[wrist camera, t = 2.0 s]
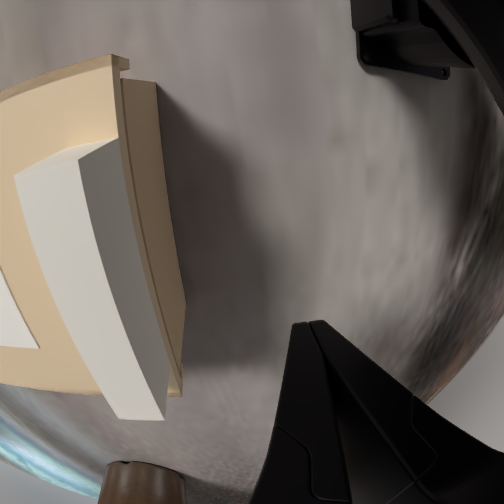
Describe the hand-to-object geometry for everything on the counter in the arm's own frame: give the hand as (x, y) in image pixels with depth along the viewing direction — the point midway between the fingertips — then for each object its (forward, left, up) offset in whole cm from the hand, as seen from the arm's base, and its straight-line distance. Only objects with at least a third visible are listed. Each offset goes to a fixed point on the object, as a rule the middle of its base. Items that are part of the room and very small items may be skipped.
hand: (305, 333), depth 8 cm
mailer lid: (+13, 0, -6) cm, 14 cm away
